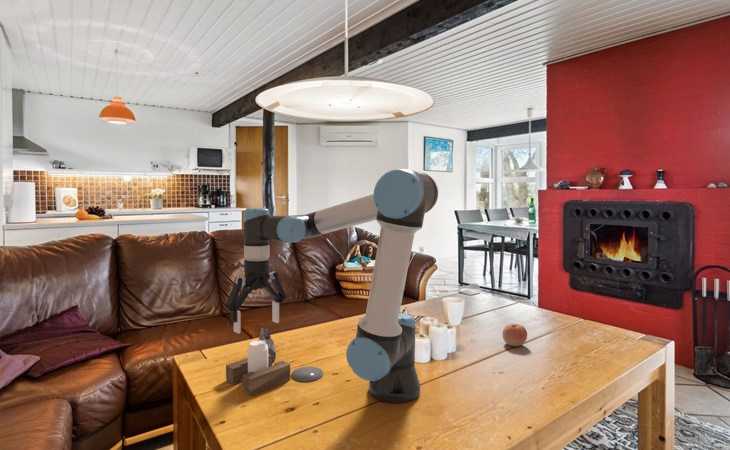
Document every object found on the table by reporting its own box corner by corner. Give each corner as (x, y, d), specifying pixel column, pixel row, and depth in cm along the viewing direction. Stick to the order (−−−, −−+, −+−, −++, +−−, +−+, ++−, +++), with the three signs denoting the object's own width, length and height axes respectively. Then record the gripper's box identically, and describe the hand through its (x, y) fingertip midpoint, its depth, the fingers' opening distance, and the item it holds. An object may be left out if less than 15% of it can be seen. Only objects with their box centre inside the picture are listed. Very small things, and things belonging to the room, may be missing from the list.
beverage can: (272, 377, 127) (271, 340, 126) (262, 386, 121) (261, 347, 120) (254, 374, 129) (254, 338, 128) (243, 383, 123) (243, 345, 122)
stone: (274, 335, 136) (272, 320, 151) (255, 337, 135) (255, 323, 149) (276, 364, 138) (274, 347, 152) (258, 367, 136) (257, 350, 150)
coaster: (329, 374, 129) (329, 372, 129) (305, 384, 122) (305, 383, 122) (309, 365, 136) (309, 363, 136) (285, 374, 129) (285, 373, 129)
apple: (531, 347, 154) (532, 327, 153) (512, 350, 151) (513, 329, 150) (515, 339, 162) (515, 320, 161) (497, 342, 159) (497, 322, 158)
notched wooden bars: (290, 379, 125) (290, 364, 125) (250, 395, 115) (250, 379, 115) (264, 366, 135) (264, 352, 134) (226, 380, 124) (225, 364, 124)
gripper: (283, 253, 134) (283, 315, 135) (211, 261, 116) (212, 333, 117) (297, 256, 129) (297, 320, 130) (224, 265, 110) (225, 340, 112)
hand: (257, 327), depth 124 cm, fingers open, 13 cm apart
